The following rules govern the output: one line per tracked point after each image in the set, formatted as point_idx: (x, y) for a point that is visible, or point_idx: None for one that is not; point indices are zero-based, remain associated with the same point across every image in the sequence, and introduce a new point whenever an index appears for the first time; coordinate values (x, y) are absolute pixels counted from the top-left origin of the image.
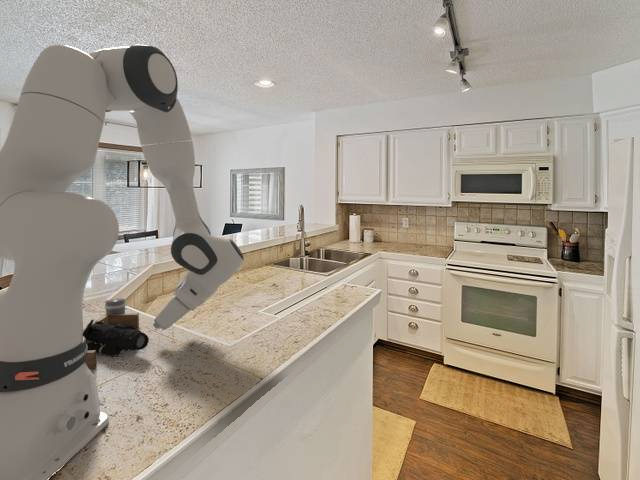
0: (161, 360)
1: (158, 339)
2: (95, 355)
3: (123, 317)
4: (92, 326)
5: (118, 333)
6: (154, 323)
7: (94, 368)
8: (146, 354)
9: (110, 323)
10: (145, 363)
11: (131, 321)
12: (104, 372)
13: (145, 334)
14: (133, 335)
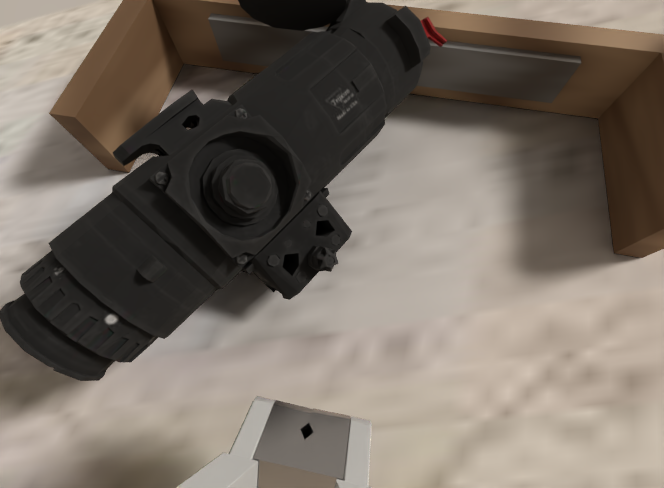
0: (34, 473)
1: (388, 416)
2: (85, 133)
3: (661, 140)
4: (350, 15)
5: (119, 160)
6: (249, 413)
7: (110, 168)
8: (168, 367)
9: (620, 106)
10: (47, 377)
11: (644, 201)
12: (57, 211)
13: (92, 351)
14: (39, 264)
